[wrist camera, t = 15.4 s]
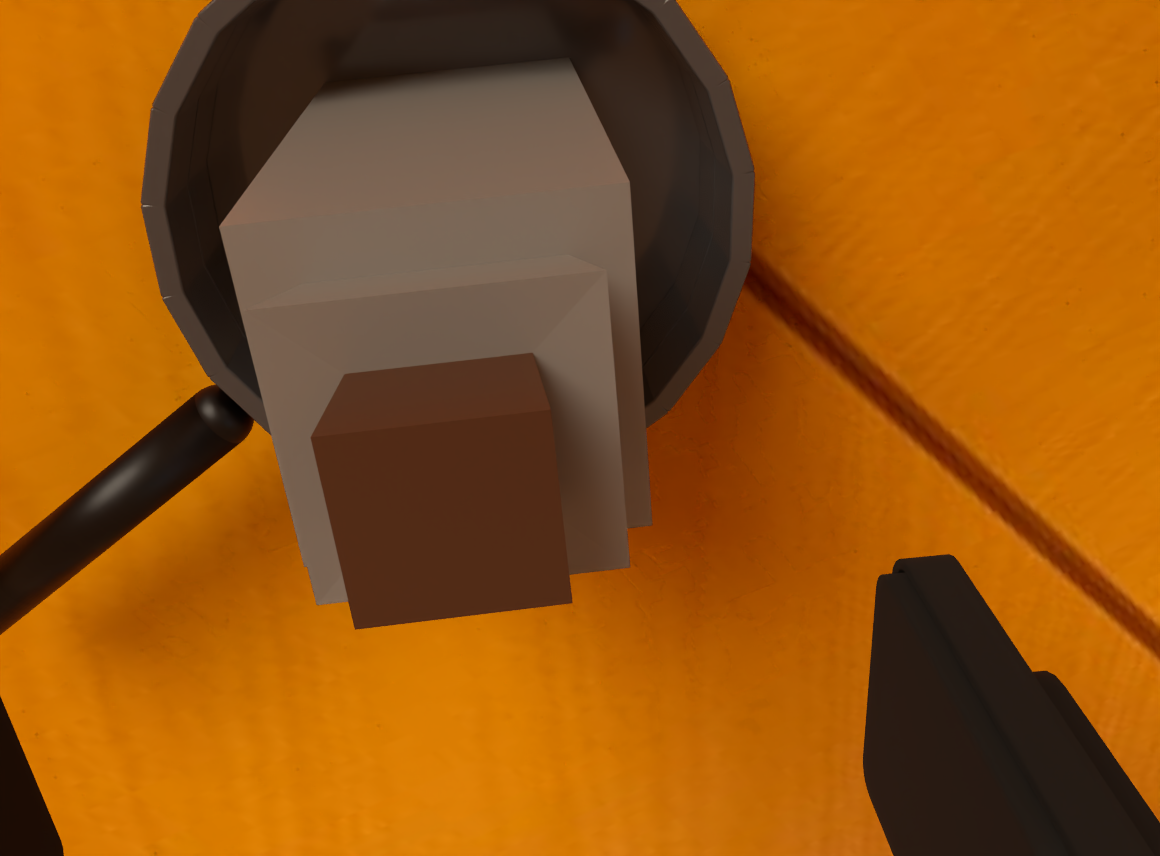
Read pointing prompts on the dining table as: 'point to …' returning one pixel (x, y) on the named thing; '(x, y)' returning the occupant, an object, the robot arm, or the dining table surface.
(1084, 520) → the dining table surface
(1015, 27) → the dining table surface
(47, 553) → the pan handle
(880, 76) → the dining table surface
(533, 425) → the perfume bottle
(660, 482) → the dining table surface
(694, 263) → the pan
